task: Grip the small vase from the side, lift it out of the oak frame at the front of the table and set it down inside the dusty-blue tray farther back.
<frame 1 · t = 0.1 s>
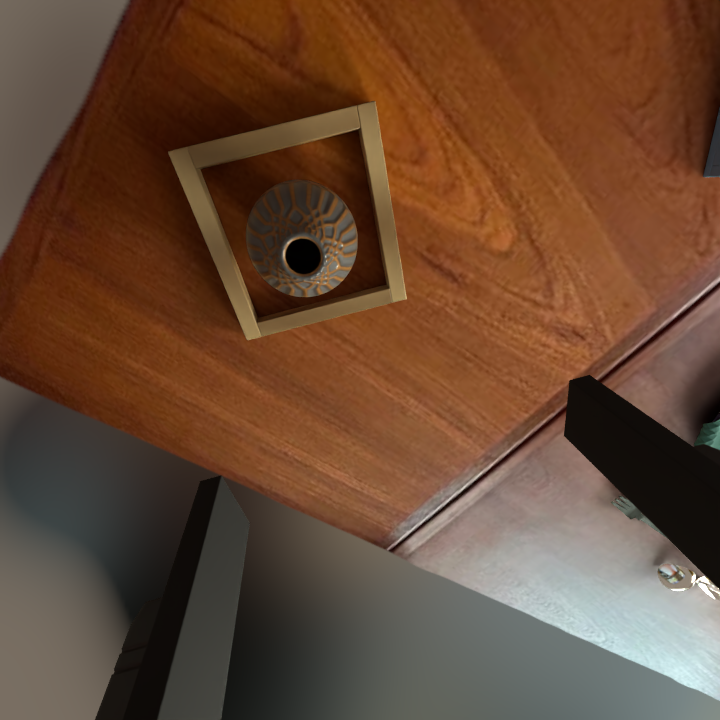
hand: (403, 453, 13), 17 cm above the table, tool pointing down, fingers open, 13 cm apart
vase: (303, 232, 25), resting in oak frame
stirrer: (690, 575, 60), on the table
oak frame: (303, 232, 25), on the table
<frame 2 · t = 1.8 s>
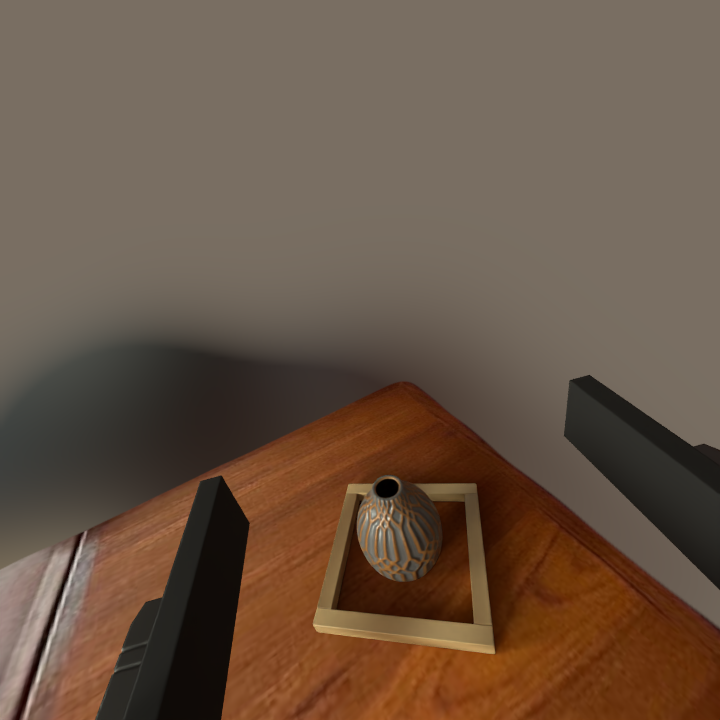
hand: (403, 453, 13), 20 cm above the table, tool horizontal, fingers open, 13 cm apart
vase: (406, 554, 31), resting in oak frame
oak frame: (406, 553, 30), on the table
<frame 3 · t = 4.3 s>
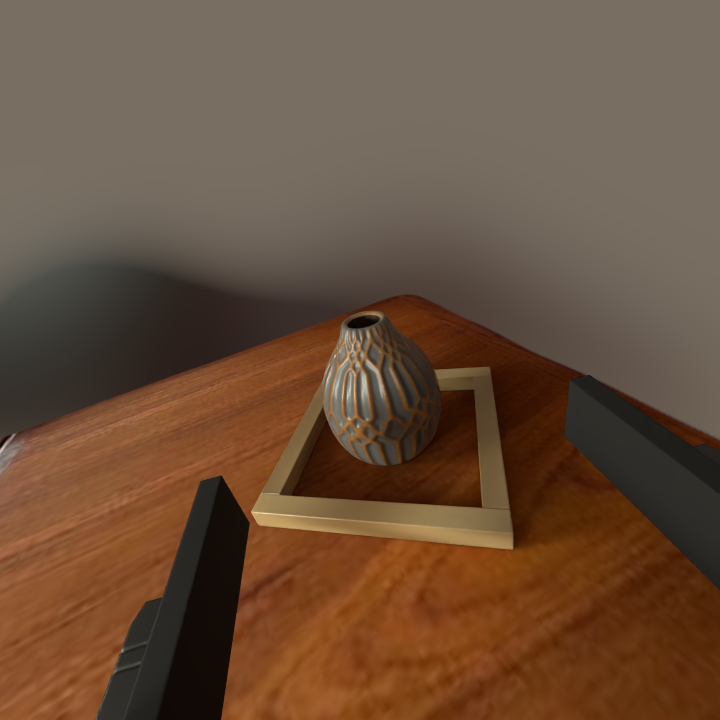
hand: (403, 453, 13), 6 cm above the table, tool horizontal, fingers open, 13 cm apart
vase: (392, 444, 23), resting in oak frame
oak frame: (391, 442, 23), on the table
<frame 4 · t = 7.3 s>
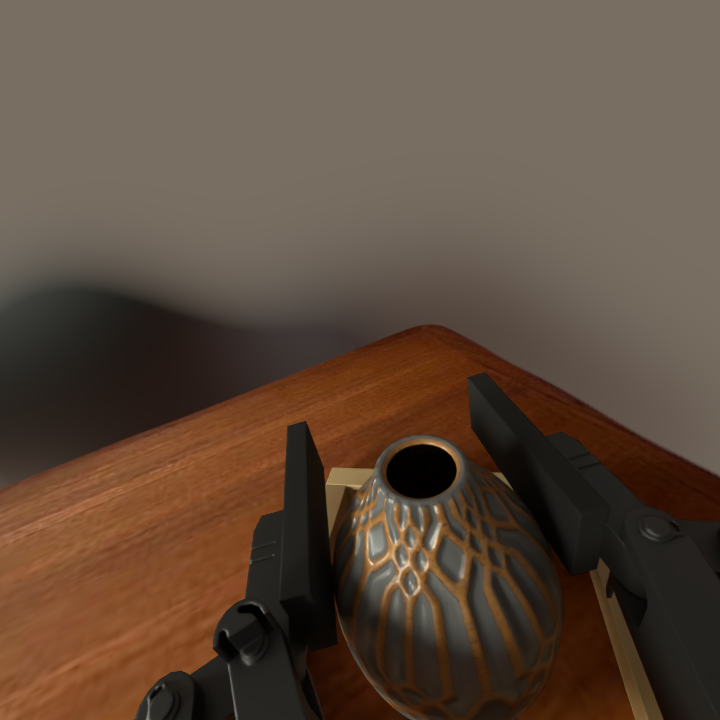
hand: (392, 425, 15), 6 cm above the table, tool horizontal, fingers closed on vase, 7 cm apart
vase: (450, 630, 13), resting in oak frame, touching gripper
oak frame: (449, 628, 13), on the table
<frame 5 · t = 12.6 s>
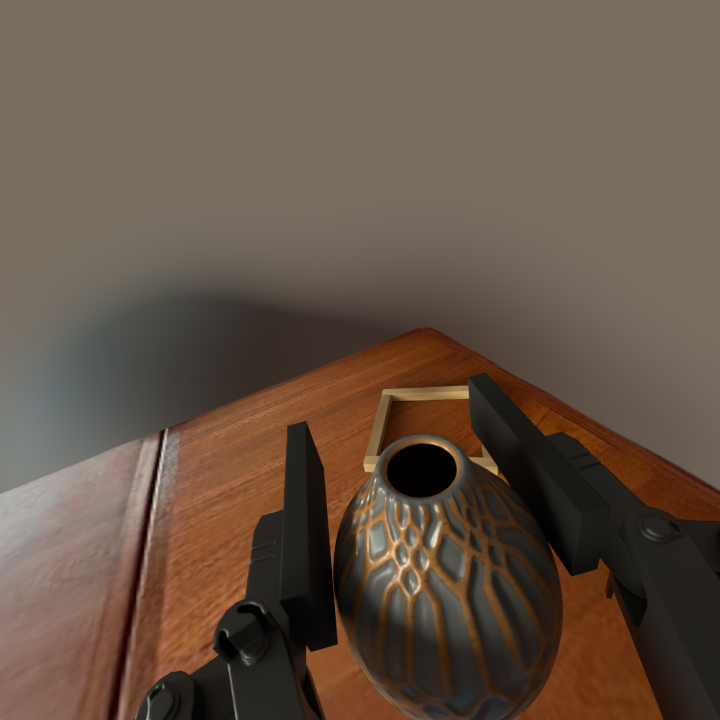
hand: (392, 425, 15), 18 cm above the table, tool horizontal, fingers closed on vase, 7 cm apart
vase: (450, 629, 13), point 12 cm above the table, touching gripper
oak frame: (431, 428, 40), on the table
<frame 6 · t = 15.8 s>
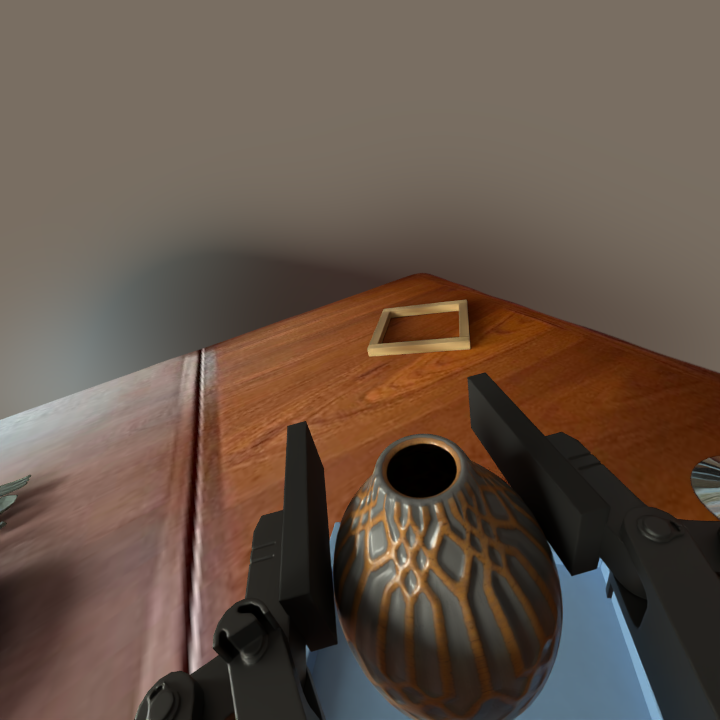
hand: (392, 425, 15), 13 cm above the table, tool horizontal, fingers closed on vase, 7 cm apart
blue tray: (463, 696, 16), on the table
vase: (450, 630, 13), point 7 cm above the table, touching gripper
oak frame: (421, 330, 50), on the table
when the fingers open (6 cm above the table, at t = 18.0 s): vase stays where it is, resting on blue tray.
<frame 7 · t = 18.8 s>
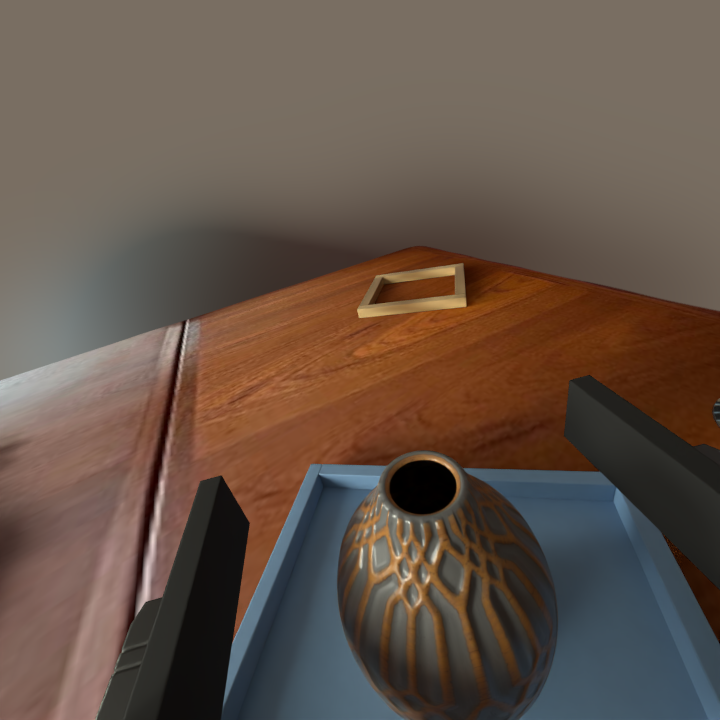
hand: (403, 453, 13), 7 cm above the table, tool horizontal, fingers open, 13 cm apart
blue tray: (451, 641, 14), on the table
vase: (450, 637, 14), resting on blue tray
oak frame: (415, 293, 47), on the table
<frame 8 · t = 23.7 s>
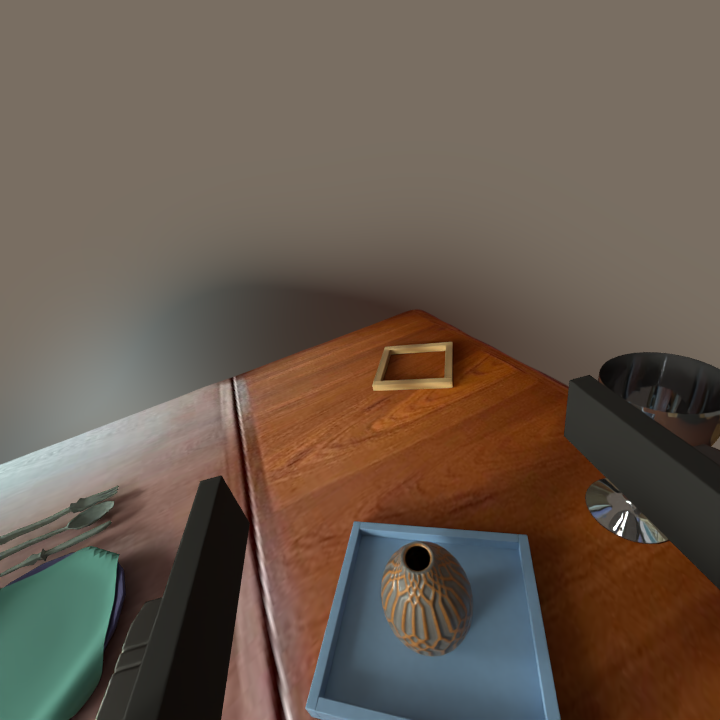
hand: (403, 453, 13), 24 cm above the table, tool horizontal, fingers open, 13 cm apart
blue tray: (432, 621, 29), on the table
vase: (431, 619, 29), resting on blue tray
cutlery set: (41, 613, 37), on the table
oak frame: (415, 367, 62), on the table
wine glass: (629, 509, 33), on the table
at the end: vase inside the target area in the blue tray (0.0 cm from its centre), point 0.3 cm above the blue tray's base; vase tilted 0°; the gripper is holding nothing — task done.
